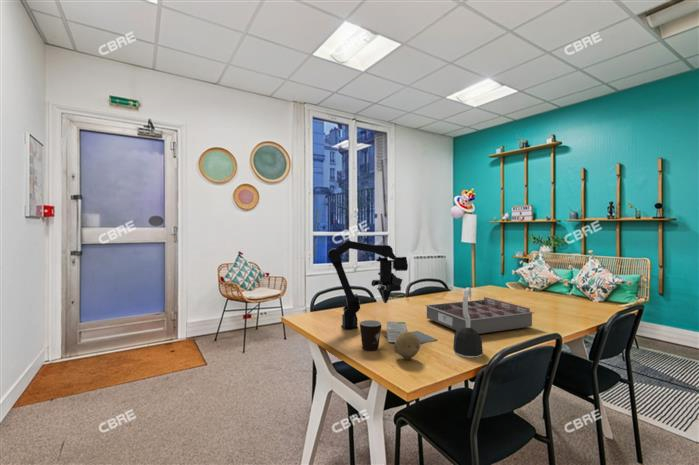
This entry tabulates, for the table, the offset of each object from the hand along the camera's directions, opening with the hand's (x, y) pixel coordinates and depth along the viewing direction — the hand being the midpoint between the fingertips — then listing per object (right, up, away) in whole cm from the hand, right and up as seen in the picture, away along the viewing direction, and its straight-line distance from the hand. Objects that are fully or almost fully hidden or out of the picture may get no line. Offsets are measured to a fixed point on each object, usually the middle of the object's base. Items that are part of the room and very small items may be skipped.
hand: (385, 302), depth 162 cm
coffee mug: (-8, -12, -29) cm, 32 cm away
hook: (+28, -12, -34) cm, 45 cm away
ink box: (+4, -9, -9) cm, 13 cm away
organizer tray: (+46, -12, +5) cm, 48 cm away
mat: (+9, -12, -17) cm, 23 cm away
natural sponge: (+4, -12, -41) cm, 43 cm away
